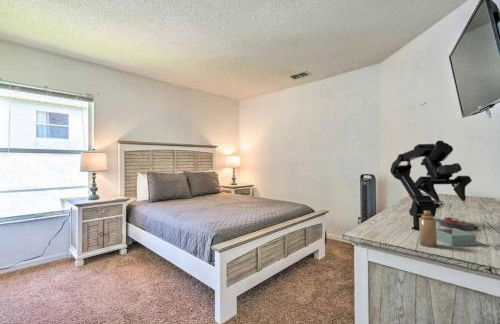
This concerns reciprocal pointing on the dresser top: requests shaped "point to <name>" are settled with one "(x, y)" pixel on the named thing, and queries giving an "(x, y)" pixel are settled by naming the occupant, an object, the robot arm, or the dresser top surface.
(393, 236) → the dresser top surface
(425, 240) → the bottle
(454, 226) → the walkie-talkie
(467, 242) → the u rest
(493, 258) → the dresser top surface
